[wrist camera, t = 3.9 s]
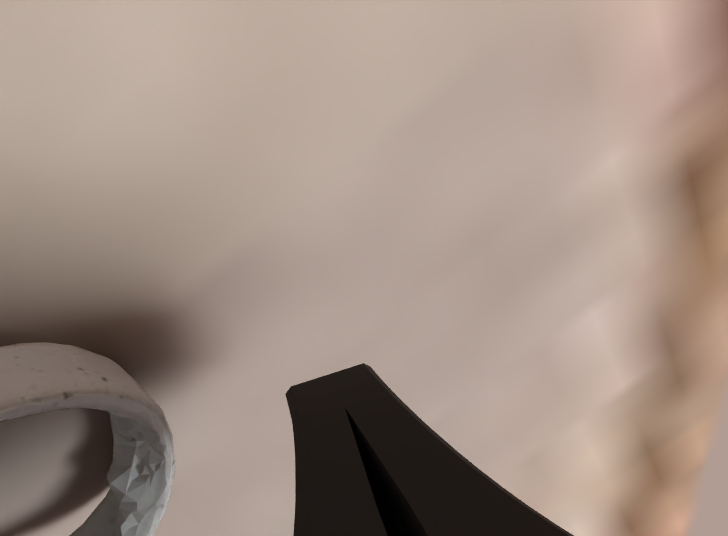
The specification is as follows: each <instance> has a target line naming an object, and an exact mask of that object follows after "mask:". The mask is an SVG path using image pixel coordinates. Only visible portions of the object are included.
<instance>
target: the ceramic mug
mask: <svg viewBox="0 0 728 536" xmlns="http://www.w3.org/2000/svg"><path fill="white" fill-rule="evenodd" d="M67 408H91V409H97V410H103V411H108V412H109V413H110V420H111V427H112V433H113V438H114V444H113V462H112V464H111V467H110V469H109V472H108V474H107V476H106V477H107V480H108V483H109V486H110V489H109V491H108V493H107V495H106V497H105V498H104V499H103V500H102V502H101V503H100V504H99V505H98V506H97V508H96V509H95V510H94V511H93V512H92V514H91V515H90V516H89V517H88V519H87V520H86V521H85V522H84V523H83V524H82V525H81V526H80V527H79V528H78V529H76V530H75V531H74V532H73V533H72V534H71V535H70V536H153V534H154V532H155V530H156V528H157V526H158V524H159V522H160V520H161V518H162V517H163V515H164V513H165V510H166V507H167V504H168V500H169V497H170V494H171V487H172V482H173V478H174V473H175V460H174V449H173V439H172V433H171V430H170V428H169V425H168V423H167V420H166V418H165V416H164V413H163V411H162V409H161V408H160V406H159V405H158V404H157V403H156V402H155V401H154V400H153V399H152V398H151V397H150V396H149V395H148V394H147V393H146V392H145V391H144V390H143V389H142V388H141V387H140V386H139V385H138V384H137V383H136V381H135V380H134V379H133V378H132V377H131V376H130V375H129V374H128V373H127V372H126V371H125V370H124V369H122V368H121V367H120V366H119V365H118V364H117V363H115V362H114V361H112V360H111V359H109V358H107V357H104V356H102V355H99V354H96V353H93V352H91V351H88V350H85V349H82V348H79V347H76V346H73V345H63V344H56V343H50V342H34V343H18V344H12V345H7V346H1V347H0V422H3V421H7V420H11V419H15V418H19V417H23V416H28V415H32V414H36V413H41V412H47V411H54V410H60V409H67Z"/></svg>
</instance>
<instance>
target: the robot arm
mask: <svg viewBox="0 0 728 536" xmlns="http://www.w3.org/2000/svg"><path fill="white" fill-rule="evenodd" d="M286 398H287V402H288V406H289V410H290V414H291V418H292V424H293V432H294V444H295V464H296V503H295V522H294V536H574V535H572V534H570V533H569V532H567V531H566V530H564V529H562V528H561V527H559V526H558V525H556V524H555V523H553V522H552V521H550V520H549V519H547V518H546V517H544V516H543V515H541V514H540V513H538V512H537V511H535V510H534V509H532V508H531V507H529V506H528V505H526V504H525V503H524V502H522V501H521V500H519V499H518V498H516V497H515V496H514V495H512V494H511V493H510V492H508V491H507V490H506V489H504V488H503V487H501V486H500V485H499V484H498V483H496V482H495V481H494V480H492V479H491V478H490V477H488V476H487V475H486V474H485V473H483V472H482V471H481V470H479V469H478V468H477V467H476V466H474V465H473V464H472V463H471V462H469V461H468V460H467V459H466V458H465V457H463V456H462V455H461V454H460V453H458V452H457V451H456V450H455V449H454V448H453V447H452V446H450V445H449V444H448V443H447V442H446V441H445V440H444V439H442V438H441V437H440V436H439V435H438V434H437V433H435V432H434V431H433V430H432V429H431V428H430V427H429V426H428V425H427V424H425V423H424V422H423V421H422V420H421V419H420V418H419V417H418V416H417V415H416V414H415V413H414V412H413V411H412V410H411V409H410V408H409V407H408V406H407V405H405V404H404V403H403V402H402V401H401V400H400V399H399V398H398V397H397V396H396V394H395V393H394V392H393V391H392V390H391V389H390V388H389V387H388V386H387V385H386V384H385V383H384V382H383V381H382V380H381V378H380V377H379V376H378V375H377V374H376V373H375V372H374V371H373V369H372V368H371V367H370V366H368V365H366V364H364V363H363V364H360V365H357V366H354V367H351V368H348V369H344V370H341V371H338V372H335V373H332V374H329V375H326V376H323V377H319V378H316V379H313V380H310V381H307V382H304V383H301V384H298V385H295V386H291V387H290V389H289V390H288V391H287V393H286Z"/></svg>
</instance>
